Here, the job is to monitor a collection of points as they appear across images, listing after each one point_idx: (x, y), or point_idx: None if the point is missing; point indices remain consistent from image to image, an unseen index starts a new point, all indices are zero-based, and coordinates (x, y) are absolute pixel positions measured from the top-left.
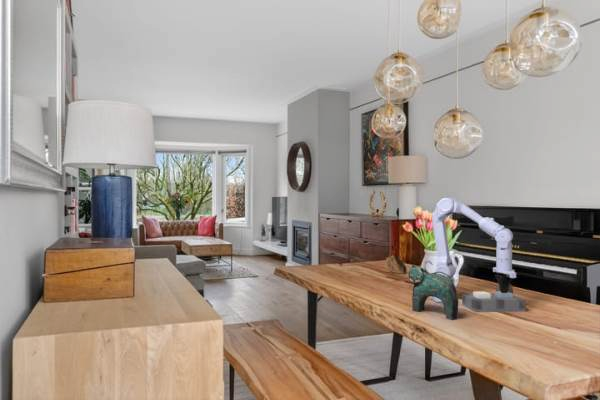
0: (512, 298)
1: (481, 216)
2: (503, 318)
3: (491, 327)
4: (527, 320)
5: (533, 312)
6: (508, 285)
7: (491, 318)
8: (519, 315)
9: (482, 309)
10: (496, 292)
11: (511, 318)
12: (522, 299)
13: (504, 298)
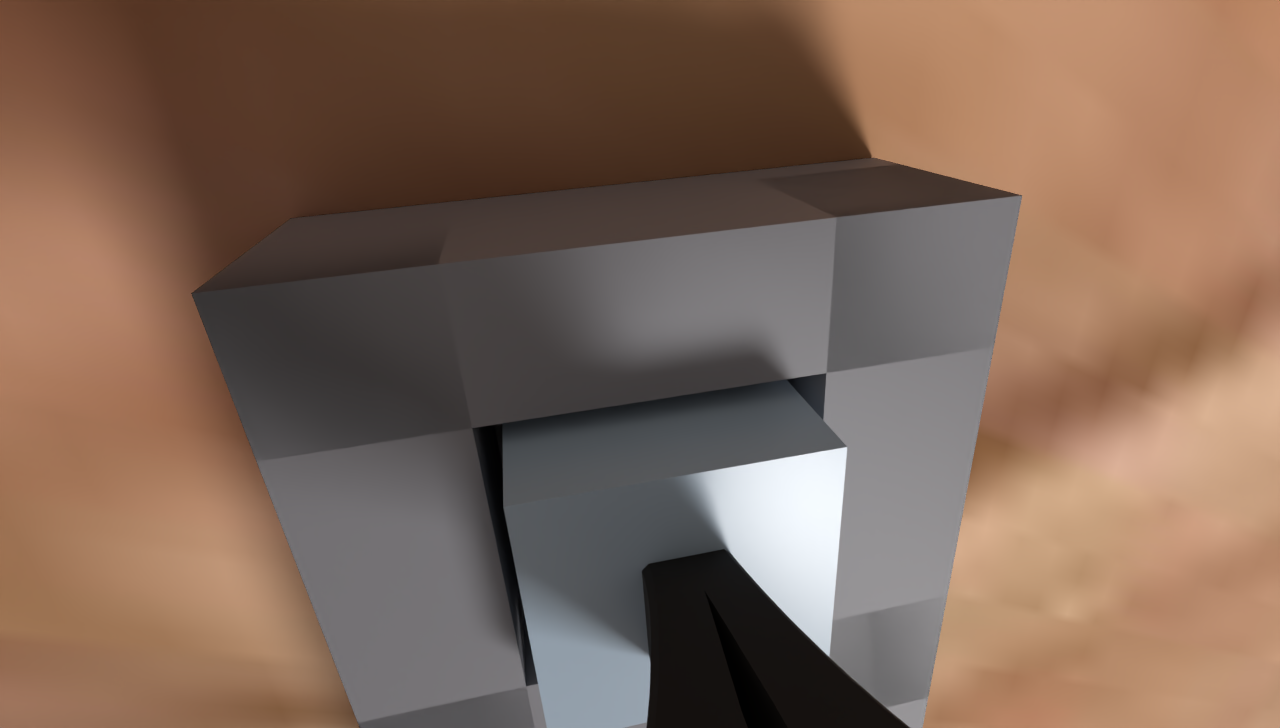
0: (847, 429)
1: None
2: (1096, 556)
3: (1267, 687)
4: (1245, 341)
5: (944, 32)
6: (868, 716)
7: (1063, 651)
8: (1043, 349)
9: None
10: (629, 718)
11: (1121, 482)
12: (968, 251)
13: None
